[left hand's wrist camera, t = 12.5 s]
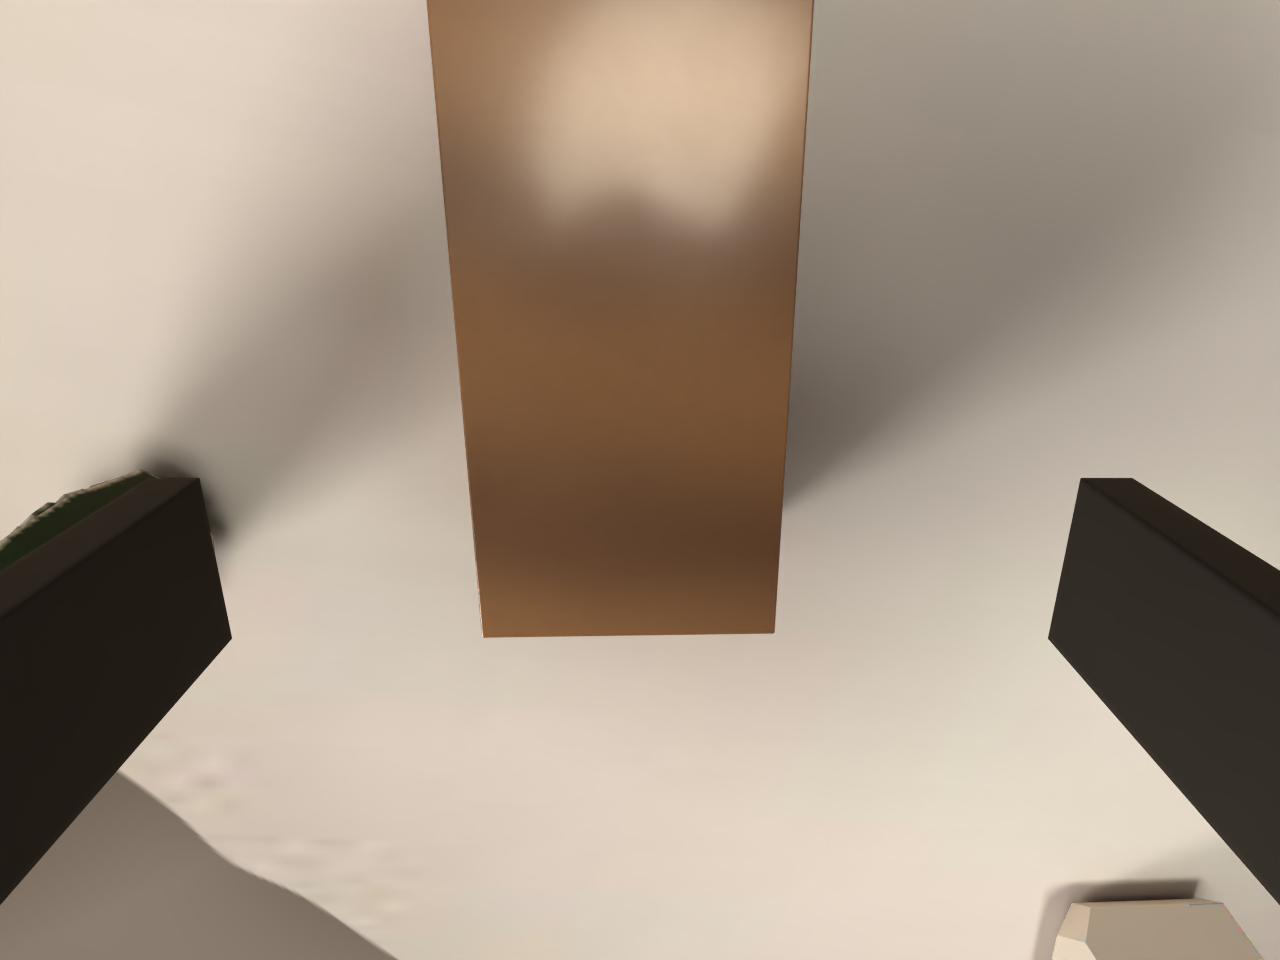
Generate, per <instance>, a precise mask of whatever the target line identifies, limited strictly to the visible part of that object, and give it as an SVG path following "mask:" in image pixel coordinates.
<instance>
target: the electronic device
mask: <svg viewBox="0 0 1280 960" xmlns="http://www.w3.org/2000/svg"><path fill="white" fill-rule="evenodd" d="M1052 960H1263V958H1262V957H1261V956H1260V954H1259V953H1258V951H1257V950H1256V949H1255V947H1254V946H1253V944H1252V943H1251V942H1250V940H1249V939H1248V937H1247V936H1246V935H1245V933H1244V932H1243V930H1242V929H1241V928H1240V926H1239V925H1238V923H1237V922H1236V921H1235V919H1234V918H1233V916H1232V915H1231V914H1230V912H1229V911H1228V909H1227V908H1226V907H1225V905H1224V904H1223V903H1220V902H1215V901H1209V900H1204V899H1199V898H1197V899H1169V900H1141V901H1113V902H1085V903H1072V904H1071V906H1070V908H1069V910H1068V912H1067V914H1066V917H1065V919H1064V921H1063V923H1062V925H1061V927H1060V930H1059V932H1058V934H1057V937H1056V942H1055V947H1054V951H1053V956H1052Z"/></svg>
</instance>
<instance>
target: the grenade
mask: <svg viewBox="0 0 1280 960" xmlns="http://www.w3.org/2000/svg"><path fill="white" fill-rule="evenodd" d="M147 478H159V477H157V476H155V475H152V474H150V473H148V472H145V471H143V470H139V471H136V472H133V473H130V474H127V475H125V476H122V477H119V478H116V479H113V480H111V481H106V482H103V483H99V484H96V485H93V486H91V487H90V488H88V489H81V490H78V491H74V492H71V493H68V494H64V495H63V496H62V497H61V498H60V499H59V500H58V501H57V502H56V503H49V502H48V503H46V504H45V505H44V506H42V507H41V508H39V509H38V510H37V511H35V512H34V513H32V514H31V515H30V516H29V517H28V518H27V519H26V520H25V521H24V522H23V523H22V524H21V525H20V526H18V527H17V528H16V529H15V530H14V531H13V532H12V533H11V534H10V535H8V536H7V537H5V538H4V539H3V540H1V541H0V571H1V570H2V569H4V568H5V567H7V566H9V565H10V564H12V563H13V562H15V561H17V560H18V559H20V558H21V557H23V556H24V555H26V554H28V553H29V552H31V551H32V550H34V549H36V548H37V547H39V546H40V545H42V544H44V543H45V542H47V541H48V540H50V539H52V538H53V537H55V536H56V535H58V534H60V533H61V532H63V531H64V530H66V529H68V528H69V527H71V526H72V525H74V524H75V523H77V522H79V521H80V520H82V519H83V518H85V517H87V516H88V515H90V514H91V513H93V512H95V511H96V510H98V509H99V508H101V507H103V506H104V505H106V504H107V503H109V502H111V501H112V500H114V499H115V498H117V497H119V496H120V495H122V494H123V493H125V492H127V491H128V490H130V489H131V488H133V487H134V486H136V485H138V484H139V483H141V482H142V481H144V480H146V479H147ZM211 538H212V543H213V534H212V533H211ZM213 548H214V543H213ZM214 553H215V552H214Z"/></svg>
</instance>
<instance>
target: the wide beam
mask: <svg viewBox="0 0 1280 960" xmlns="http://www.w3.org/2000/svg"><path fill="white" fill-rule="evenodd" d="M427 10H428V22H429V33H430V45H431V56H432V68H433V79H434V91H435V102H436V114H437V125H438V137H439V148H440V159H441V171H442V182H443V194H444V205H445V217H446V228H447V240H448V251H449V263H450V274H451V286H452V297H453V309H454V320H455V331H456V343H457V354H458V366H459V377H460V389H461V400H462V412H463V423H464V435H465V446H466V458H467V469H468V481H469V492H470V504H471V515H472V526H473V538H474V549H475V561H476V572H477V584H478V595H479V607H480V618H481V630H482V637H484V638H485V637H556V636H626V635H697V634H767V633H774V632H775V617H776V601H777V585H778V569H779V553H780V537H781V521H782V505H783V489H784V473H785V457H786V441H787V425H788V409H789V393H790V377H791V361H792V345H793V329H794V313H795V297H796V281H797V265H798V249H799V233H800V217H801V202H802V186H803V170H804V154H805V138H806V122H807V106H808V90H809V74H810V58H811V42H812V26H813V10H814V0H427Z"/></svg>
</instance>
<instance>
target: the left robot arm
mask: <svg viewBox="0 0 1280 960" xmlns="http://www.w3.org/2000/svg"><path fill="white" fill-rule="evenodd" d="M231 639H232V636H231V631H230V626H229V622H228V617H227V612H226V607H225V602H224V597H223V592H222V587H221V582H220V577H219V572H218V567H217V563H216V558H215V553H214V548H213V543H212V538H211V533H210V528H209V523H208V518H207V513H206V509H205V504H204V499H203V494H202V489H201V484H200V479H199V478H147V479H146V480H144V481H142V482H141V483H139V484H138V485H136V486H134V487H133V488H131V489H130V490H128V491H127V492H125V493H123V494H122V495H120V496H119V497H117V498H115V499H114V500H112V501H111V502H109V503H107V504H106V505H104V506H103V507H101V508H99V509H98V510H96V511H95V512H93V513H91V514H90V515H88V516H87V517H85V518H83V519H82V520H80V521H79V522H77V523H75V524H74V525H72V526H71V527H69V528H68V529H66V530H64V531H63V532H61V533H60V534H58V535H56V536H55V537H53V538H52V539H50V540H48V541H47V542H45V543H44V544H42V545H40V546H39V547H37V548H36V549H34V550H32V551H31V552H29V553H28V554H26V555H24V556H23V557H21V558H20V559H18V560H17V561H15V562H13V563H12V564H10V565H9V566H7V567H5V568H4V569H2V570H1V571H0V905H1V903H2V902H3V901H4V900H5V899H6V898H7V897H8V895H9V894H10V893H11V892H12V891H13V890H14V889H15V887H16V886H17V885H18V884H19V883H20V882H21V880H22V879H23V878H24V877H25V876H26V875H27V874H28V872H29V871H30V870H31V869H32V868H33V867H34V866H35V864H36V863H37V862H38V861H39V860H40V859H41V857H42V856H43V855H44V854H45V853H46V852H47V851H48V849H49V848H50V847H51V846H52V845H53V844H54V843H55V841H56V840H57V839H58V838H59V837H60V836H61V835H62V833H63V832H64V831H65V830H66V829H67V828H68V826H69V825H70V824H71V823H72V822H73V821H74V820H75V818H76V817H77V816H78V815H79V814H80V813H81V812H82V810H83V809H84V808H85V807H86V806H87V805H88V803H89V802H90V801H91V800H92V799H93V798H94V797H95V795H96V794H97V793H98V792H99V791H100V790H101V789H102V787H103V786H104V785H105V784H106V783H107V782H108V780H109V779H110V778H111V777H112V776H113V775H114V774H115V772H116V771H117V770H118V769H119V768H120V767H121V766H122V764H123V763H124V762H125V761H126V760H127V759H128V758H129V756H130V755H131V754H132V753H133V752H134V751H135V749H136V748H137V747H138V746H139V745H140V744H141V743H142V741H143V740H144V739H145V738H146V737H147V736H148V735H149V733H150V732H151V731H152V730H153V729H154V728H155V726H156V725H157V724H158V723H159V722H160V721H161V720H162V718H163V717H164V716H165V715H166V714H167V713H168V712H169V710H170V709H171V708H172V707H173V706H174V705H175V703H176V702H177V701H178V700H179V699H180V698H181V697H182V695H183V694H184V693H185V692H186V691H187V690H188V689H189V687H190V686H191V685H192V684H193V683H194V682H195V680H196V679H197V678H198V677H199V676H200V675H201V674H202V672H203V671H204V670H205V669H206V668H207V667H208V666H209V664H210V663H211V662H212V661H213V660H214V659H215V657H216V656H217V655H218V654H219V653H220V652H221V651H222V649H223V648H224V647H225V646H226V645H227V644H228V643H229V641H230V640H231ZM1048 639H1049V640H1050V641H1051V643H1052V644H1053V645H1054V646H1055V647H1056V648H1057V649H1058V651H1059V652H1060V653H1061V654H1062V655H1063V656H1064V657H1065V659H1066V660H1067V661H1068V662H1069V663H1070V664H1071V666H1072V667H1073V668H1074V669H1075V670H1076V671H1077V672H1078V674H1079V675H1080V676H1081V677H1082V678H1083V679H1084V680H1085V682H1086V683H1087V684H1088V685H1089V686H1090V687H1091V689H1092V690H1093V691H1094V692H1095V693H1096V694H1097V695H1098V697H1099V698H1100V699H1101V700H1102V701H1103V702H1104V703H1105V705H1106V706H1107V707H1108V708H1109V709H1110V710H1111V712H1112V713H1113V714H1114V715H1115V716H1116V717H1117V718H1118V720H1119V721H1120V722H1121V723H1122V724H1123V725H1124V726H1125V728H1126V729H1127V730H1128V731H1129V732H1130V733H1131V735H1132V736H1133V737H1134V738H1135V739H1136V740H1137V741H1138V743H1139V744H1140V745H1141V746H1142V747H1143V748H1144V749H1145V751H1146V752H1147V753H1148V754H1149V755H1150V756H1151V758H1152V759H1153V760H1154V761H1155V762H1156V763H1157V764H1158V766H1159V767H1160V768H1161V769H1162V770H1163V771H1164V772H1165V774H1166V775H1167V776H1168V777H1169V778H1170V779H1171V780H1172V782H1173V783H1174V784H1175V785H1176V786H1177V787H1178V789H1179V790H1180V791H1181V792H1182V793H1183V794H1184V795H1185V797H1186V798H1187V799H1188V800H1189V801H1190V802H1191V803H1192V805H1193V806H1194V807H1195V808H1196V809H1197V810H1198V812H1199V813H1200V814H1201V815H1202V816H1203V817H1204V818H1205V820H1206V821H1207V822H1208V823H1209V824H1210V825H1211V826H1212V828H1213V829H1214V830H1215V831H1216V832H1217V833H1218V835H1219V836H1220V837H1221V838H1222V839H1223V840H1224V841H1225V843H1226V844H1227V845H1228V846H1229V847H1230V848H1231V849H1232V851H1233V852H1234V853H1235V854H1236V855H1237V856H1238V858H1239V859H1240V860H1241V861H1242V862H1243V863H1244V864H1245V866H1246V867H1247V868H1248V869H1249V870H1250V871H1251V872H1252V874H1253V875H1254V876H1255V877H1256V878H1257V879H1258V881H1259V882H1260V883H1261V884H1262V885H1263V886H1264V887H1265V889H1266V890H1267V891H1268V892H1269V893H1270V894H1271V895H1272V897H1273V898H1274V899H1275V900H1276V901H1277V902H1278V904H1279V905H1280V571H1279V570H1278V569H1276V568H1275V567H1273V566H1271V565H1270V564H1268V563H1267V562H1265V561H1263V560H1262V559H1260V558H1259V557H1257V556H1256V555H1254V554H1252V553H1251V552H1249V551H1248V550H1246V549H1244V548H1243V547H1241V546H1240V545H1238V544H1236V543H1235V542H1233V541H1232V540H1230V539H1228V538H1227V537H1225V536H1224V535H1222V534H1220V533H1219V532H1217V531H1216V530H1214V529H1212V528H1211V527H1209V526H1208V525H1206V524H1205V523H1203V522H1201V521H1200V520H1198V519H1197V518H1195V517H1193V516H1192V515H1190V514H1189V513H1187V512H1185V511H1184V510H1182V509H1181V508H1179V507H1177V506H1176V505H1174V504H1173V503H1171V502H1169V501H1168V500H1166V499H1165V498H1163V497H1161V496H1160V495H1158V494H1157V493H1155V492H1153V491H1152V490H1150V489H1149V488H1147V487H1146V486H1144V485H1142V484H1141V483H1139V482H1138V481H1136V480H1134V479H1133V478H1081V479H1080V484H1079V489H1078V494H1077V499H1076V504H1075V509H1074V513H1073V518H1072V523H1071V528H1070V533H1069V538H1068V543H1067V548H1066V553H1065V558H1064V563H1063V567H1062V572H1061V577H1060V582H1059V587H1058V592H1057V597H1056V602H1055V607H1054V612H1053V617H1052V622H1051V626H1050V631H1049V636H1048Z"/></svg>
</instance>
